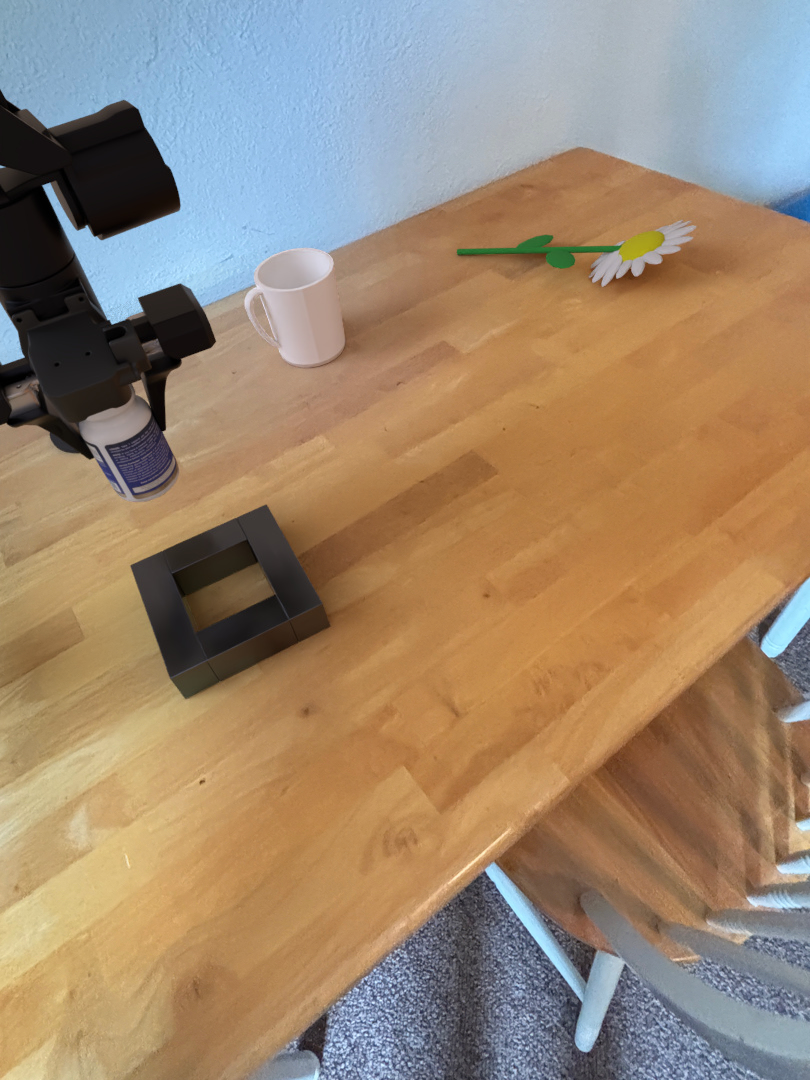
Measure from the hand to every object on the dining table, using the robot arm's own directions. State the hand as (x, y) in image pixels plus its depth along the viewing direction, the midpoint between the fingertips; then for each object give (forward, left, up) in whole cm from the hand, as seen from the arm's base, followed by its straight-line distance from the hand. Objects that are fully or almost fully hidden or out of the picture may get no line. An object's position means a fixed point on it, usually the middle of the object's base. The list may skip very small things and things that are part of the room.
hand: (127, 442), depth 58 cm
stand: (+2, -10, -13) cm, 16 cm away
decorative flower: (+57, +17, -13) cm, 61 cm away
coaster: (-4, +23, -13) cm, 27 cm away
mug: (+22, +21, -13) cm, 33 cm away
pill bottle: (0, 0, -5) cm, 5 cm away
